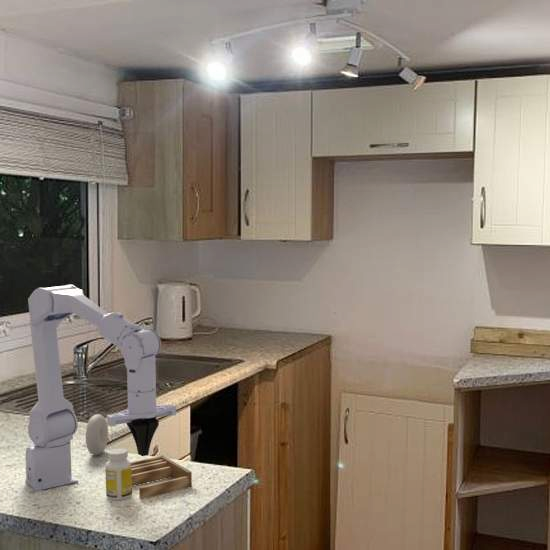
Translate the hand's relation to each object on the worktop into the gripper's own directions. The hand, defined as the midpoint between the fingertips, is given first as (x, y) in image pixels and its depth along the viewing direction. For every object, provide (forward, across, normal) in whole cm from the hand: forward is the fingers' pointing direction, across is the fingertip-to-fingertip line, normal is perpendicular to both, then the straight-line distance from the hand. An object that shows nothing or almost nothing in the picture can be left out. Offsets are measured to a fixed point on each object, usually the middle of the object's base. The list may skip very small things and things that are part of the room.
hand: (143, 454), depth 154 cm
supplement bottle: (+11, -2, +7) cm, 13 cm away
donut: (+11, +5, +36) cm, 38 cm away
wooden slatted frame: (+10, +6, +9) cm, 15 cm away
